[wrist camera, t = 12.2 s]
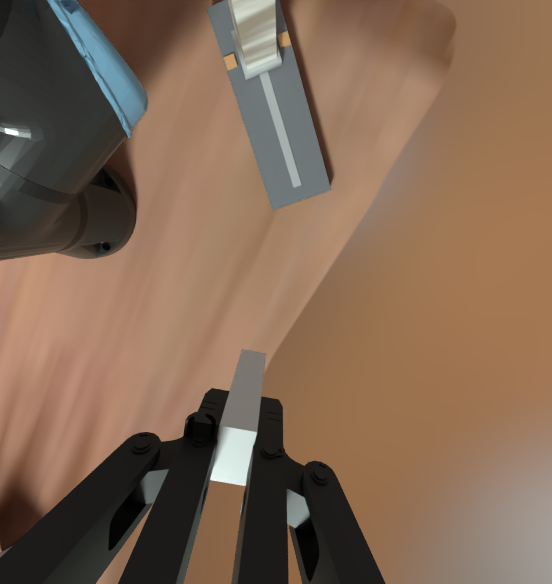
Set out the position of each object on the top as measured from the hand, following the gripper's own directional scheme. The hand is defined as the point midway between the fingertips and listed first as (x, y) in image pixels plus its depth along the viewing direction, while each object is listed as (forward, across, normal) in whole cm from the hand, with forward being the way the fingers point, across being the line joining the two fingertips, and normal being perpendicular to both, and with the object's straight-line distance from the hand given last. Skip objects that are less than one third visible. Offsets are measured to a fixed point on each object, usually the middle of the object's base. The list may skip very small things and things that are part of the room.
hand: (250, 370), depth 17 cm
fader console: (+29, -4, +24) cm, 38 cm away
